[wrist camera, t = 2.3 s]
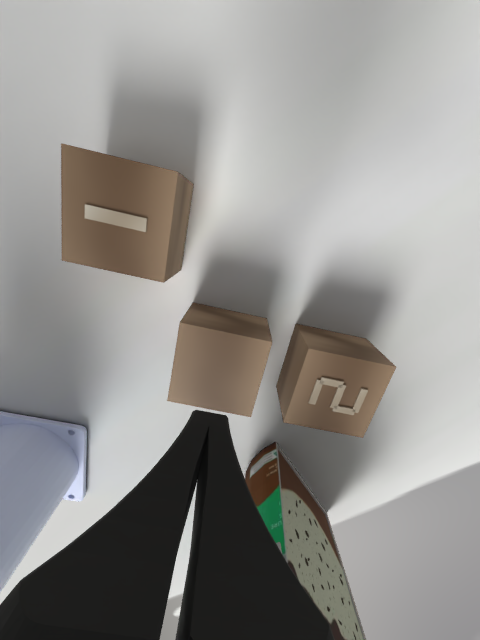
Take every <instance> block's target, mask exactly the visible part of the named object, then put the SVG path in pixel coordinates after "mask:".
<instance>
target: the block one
mask: <svg viewBox="0 0 480 640" xmlns="http://www.w3.org/2000/svg"><path fill="white" fill-rule="evenodd" d="M193 185H194V184H193V183H191V182H190V181H189V180H188V179H186V178H185V177H184V176H183V175H181V174H180V173H179V172H177V171H173V170H168V169H164V168H160V167H156V166H152V165H148V164H144V163H140V162H136V161H131V160H127V159H123V158H119V157H115V156H111V155H107V154H103V153H99V152H94V151H90V150H86V149H82V148H78V147H74V146H70V145H66V144H62V143H61V188H62V260H63V261H67V262H72V263H76V264H81V265H86V266H90V267H95V268H99V269H104V270H109V271H113V272H118V273H122V274H127V275H131V276H136V277H141V278H145V279H150V280H154V281H159V282H165V281H167V280H168V279H169V278H171V277H172V276H174V275H175V274H176V273H178V272H179V271H180V270H181V267H182V260H183V253H184V246H185V240H186V233H187V226H188V219H189V212H190V206H191V199H192V192H193Z"/></svg>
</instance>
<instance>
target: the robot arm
mask: <svg viewBox="0 0 480 640" xmlns="http://www.w3.org/2000/svg"><path fill="white" fill-rule="evenodd" d="M72 430H73V431H72ZM86 451H87V430H86V428H85V427H84V426H81V425H76V424H70V423H64V422H59V421H53V420H47V419H42V418H36V417H30V416H25V415H19V414H13V413H7V412H2V411H0V592H1V591H2V589H3V588H4V586H5V585H6V583H7V582H8V580H9V579H10V577H11V576H12V574H13V573H14V571H15V570H16V568H17V567H18V565H19V564H20V562H21V561H22V559H23V558H24V556H25V555H26V553H27V552H28V550H29V548H30V547H31V545H32V544H33V542H34V541H35V539H36V538H37V536H38V535H39V533H40V532H41V530H42V529H43V527H44V526H45V524H46V523H47V521H48V520H49V518H50V517H51V515H52V514H53V512H54V511H55V509H56V508H57V506H58V505H59V503H60V502H61V500H62V499H66V500H72V501H82V500H83V499H84V497H85V494H86ZM197 479H198V480H197ZM196 483H197V490H196V500H195V510H194V521H193V531H192V541H191V550H190V558H189V564H188V570H187V576H186V582H185V588H184V593H183V599H182V605H181V611H180V617H179V623H178V629H177V634H176V640H335V639H334V636H333V633H332V630H331V627H330V625H329V623H328V622H327V621H326V619H325V618H324V616H323V615H322V614H321V612H320V611H319V609H318V608H317V607H316V605H315V604H314V602H313V601H312V599H311V598H310V597H309V595H308V594H307V592H306V591H305V589H304V588H303V586H302V585H301V583H300V582H299V580H298V579H297V577H296V576H295V574H294V572H293V571H292V569H291V568H290V566H289V565H288V563H287V561H286V560H285V558H284V556H283V555H282V553H281V551H280V549H279V548H278V546H277V544H276V542H275V541H274V539H273V537H272V536H271V534H270V532H269V530H268V528H267V527H266V525H265V523H264V521H263V519H262V517H261V515H260V513H259V511H258V509H257V507H256V504H255V502H254V500H253V498H252V496H251V493H250V491H249V489H248V486H247V484H246V481H245V479H244V476H243V473H242V471H241V468H240V465H239V462H238V459H237V456H236V452H235V449H234V446H233V442H232V438H231V434H230V429H229V422H228V418H227V416H226V415H221V414H215V413H210V412H204V411H199V410H195V411H193V412H192V414H191V417H190V419H189V420H188V422H187V424H186V425H185V427H184V429H183V430H182V432H181V433H180V435H179V436H178V437H177V439H176V440H175V441H174V443H173V444H172V446H171V447H170V448H169V449H168V451H167V452H166V453H165V454H164V456H163V457H162V458H161V459H160V460H159V462H158V463H157V464H156V465H155V466H154V467H153V469H152V470H151V471H150V472H149V473H148V474H147V475H146V476H145V477H144V478H143V479H142V480H141V481H140V482H139V484H138V485H137V486H136V487H135V488H134V489H133V490H132V491H131V492H129V493H128V494H127V495H126V496H125V497H124V498H123V499H122V500H121V501H120V502H119V503H118V504H117V505H116V506H115V507H114V508H112V509H111V510H110V511H109V512H108V513H107V514H106V515H104V516H103V517H102V518H101V519H100V520H98V521H97V522H96V523H95V524H94V525H92V526H91V527H90V528H89V529H88V530H86V531H85V532H84V533H83V534H82V535H80V536H79V537H78V538H77V539H75V540H74V541H73V542H72V543H70V544H69V545H68V546H66V547H65V548H64V549H62V550H61V551H60V552H58V553H57V554H56V555H54V556H53V557H52V558H50V559H49V560H47V561H46V562H45V563H43V564H42V565H41V566H39V567H38V568H37V569H35V570H34V571H32V572H31V573H30V574H28V575H27V576H26V577H24V578H23V579H22V580H20V582H19V583H18V584H17V585H16V586H15V587H14V589H13V590H12V591H11V592H10V594H9V595H8V596H7V597H6V598H5V600H4V601H3V602H2V603H1V605H0V640H159V639H160V634H161V629H162V624H163V619H164V614H165V609H166V604H167V600H168V595H169V590H170V585H171V580H172V575H173V570H174V565H175V561H176V556H177V552H178V548H179V544H180V540H181V537H182V533H183V529H184V526H185V522H186V519H187V515H188V512H189V508H190V504H191V501H192V497H193V494H194V490H195V486H196Z"/></svg>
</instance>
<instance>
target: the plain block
mask: <svg viewBox="0 0 480 640" xmlns="http://www.w3.org/2000/svg"><path fill="white" fill-rule="evenodd" d="M271 345H272V338H271V334H270V330H269V326H268V322H267V318H262V317H258V316H253V315H248V314H244V313H239V312H235V311H230V310H225V309H221V308H216V307H212V306H207V305H203V304H198V303H192V305H191V306H190V308H189V309H188V311H187V312H186V314H185V315H184V317H183V318H182V320H181V321H180V325H179V331H178V337H177V343H176V350H175V356H174V362H173V369H172V375H171V381H170V388H169V394H168V400H167V401H170V402H175V403H181V404H186V405H191V406H196V407H201V408H206V409H212V410H217V411H222V412H227V413H232V414H237V415H243V416H248V417H251V414H252V411H253V408H254V404H255V401H256V397H257V394H258V390H259V387H260V383H261V380H262V376H263V373H264V370H265V366H266V363H267V359H268V356H269V352H270V349H271Z"/></svg>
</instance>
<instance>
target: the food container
mask: <svg viewBox="0 0 480 640" xmlns="http://www.w3.org/2000/svg"><path fill="white" fill-rule="evenodd" d="M245 481H246V484H247V486H248V489H249V491H250V493H251V496H252V498H253V500H254V502H255V504H256V507H257V509H258V511H259V513H260V515H261V517H262V519H263V521H264V523H265V525H266V527H267V528H268V530H269V532H270V534H271V536H272V537H273V539H274V541H275V542H276V544H277V546H278V548H279V549H280V551H281V553H282V555H283V556H284V558H285V560H286V561H287V563H288V565H289V566H290V568H291V569H292V571H293V572H294V574H295V576H296V577H297V579H298V580H299V582H300V583H301V585H302V586H303V588H304V589H305V591H306V592H307V594H308V595H309V597H310V598H311V599H312V601H313V602H314V604H315V605H316V607H317V608H318V609H319V611H320V612H321V614H322V615H323V616H324V618H325V619H326V621H327V622H328V623H329V625H330V627H331V630H332V633H333V636H334V639H335V640H366V638H365V635H364V631H363V628H362V625H361V622H360V618H359V615H358V612H357V609H356V606H355V602H354V599H353V596H352V593H351V589H350V586H349V583H348V580H347V577H346V573H345V570H344V567H343V564H342V561H341V557H340V554H339V551H338V548H337V545H336V542H335V538H334V535H333V532H332V528H331V525H330V522H329V519H328V515H327V513H326V511H325V510H324V508H323V507H322V506H321V504H320V503H319V501H318V500H317V499H316V497H315V496H314V494H313V493H312V492H311V490H310V489H309V487H308V486H307V485H306V483H305V482H304V480H303V479H302V478H301V476H300V475H299V473H298V472H297V471H296V469H295V468H294V466H293V465H292V464H291V462H290V461H289V459H288V458H287V457H286V455H285V454H284V452H283V451H282V450H281V448H280V447H279V445H278V444H277V443H276V442H274V443H273V444H271V445H269V446H267V447H266V448H264V449H263V450H262V451H261V452H260V453H259V454H258V455H257V456H256V457H255V458H253V459H252V461H251V463H250V465H249V467H248V469H247V471H246V476H245Z"/></svg>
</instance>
